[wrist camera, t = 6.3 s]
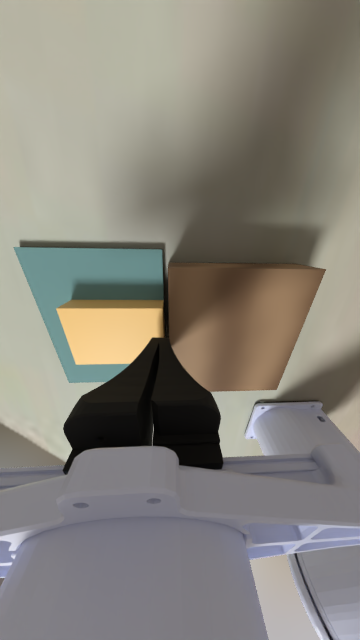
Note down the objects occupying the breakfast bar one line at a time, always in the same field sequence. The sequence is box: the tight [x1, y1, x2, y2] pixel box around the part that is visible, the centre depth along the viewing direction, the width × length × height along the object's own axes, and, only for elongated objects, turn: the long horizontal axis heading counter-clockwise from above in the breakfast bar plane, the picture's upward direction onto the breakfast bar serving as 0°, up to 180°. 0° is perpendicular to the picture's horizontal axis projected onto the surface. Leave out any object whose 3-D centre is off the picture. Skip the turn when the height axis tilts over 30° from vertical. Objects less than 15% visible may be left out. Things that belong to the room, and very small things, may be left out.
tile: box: [56, 300, 165, 365], centre depth 14 cm, size 8×6×2 cm
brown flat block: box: [168, 262, 326, 392], centre depth 15 cm, size 11×12×3 cm
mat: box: [14, 247, 165, 383], centre depth 15 cm, size 11×14×1 cm
